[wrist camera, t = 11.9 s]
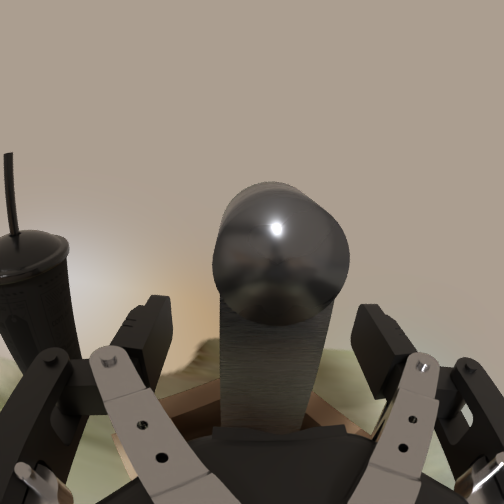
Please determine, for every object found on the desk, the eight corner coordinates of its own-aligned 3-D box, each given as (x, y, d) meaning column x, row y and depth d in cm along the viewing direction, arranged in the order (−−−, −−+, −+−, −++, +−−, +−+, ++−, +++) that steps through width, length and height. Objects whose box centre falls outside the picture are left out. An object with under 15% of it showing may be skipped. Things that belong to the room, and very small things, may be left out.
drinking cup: (124, 397, 21) (84, 141, 14) (64, 448, 14) (-36, 160, 7) (74, 360, 23) (36, 150, 16) (19, 397, 17) (-49, 167, 10)
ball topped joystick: (218, 495, 12) (209, 194, 7) (219, 452, 16) (219, 178, 10) (282, 494, 13) (364, 204, 7) (277, 453, 16) (327, 185, 10)
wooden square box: (116, 444, 16) (89, 389, 14) (267, 386, 24) (275, 329, 22) (217, 601, 6) (211, 609, 3) (388, 485, 13) (431, 438, 11)
